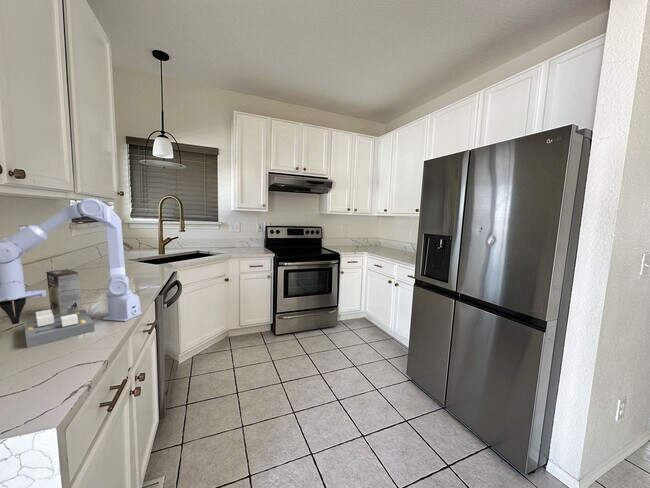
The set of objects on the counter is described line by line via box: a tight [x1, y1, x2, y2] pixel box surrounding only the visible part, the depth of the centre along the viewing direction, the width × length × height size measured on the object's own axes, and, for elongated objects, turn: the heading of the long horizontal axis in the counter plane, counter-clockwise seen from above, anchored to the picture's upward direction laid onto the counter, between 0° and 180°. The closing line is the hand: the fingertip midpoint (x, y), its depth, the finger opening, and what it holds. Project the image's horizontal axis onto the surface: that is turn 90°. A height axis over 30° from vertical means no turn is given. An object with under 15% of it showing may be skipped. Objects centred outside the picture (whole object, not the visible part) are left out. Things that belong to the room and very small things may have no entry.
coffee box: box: [46, 268, 82, 315], centre depth 102 cm, size 9×6×16 cm
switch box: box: [23, 309, 96, 349], centre depth 88 cm, size 15×17×3 cm
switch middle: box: [37, 313, 54, 327], centre depth 85 cm, size 4×3×2 cm
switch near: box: [61, 314, 78, 327], centre depth 86 cm, size 4×3×2 cm
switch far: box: [35, 308, 52, 320], centre depth 89 cm, size 4×3×2 cm
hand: (15, 323), depth 84 cm, fingers closed
